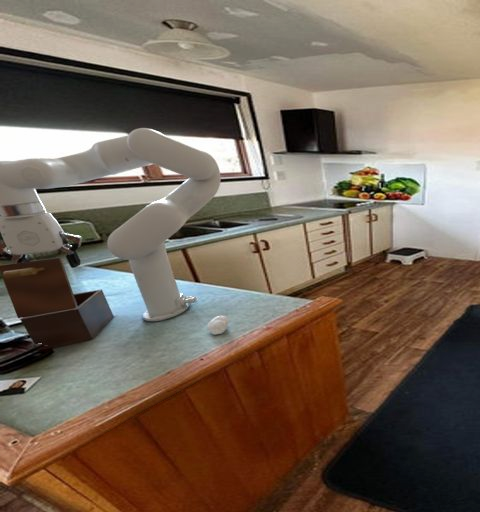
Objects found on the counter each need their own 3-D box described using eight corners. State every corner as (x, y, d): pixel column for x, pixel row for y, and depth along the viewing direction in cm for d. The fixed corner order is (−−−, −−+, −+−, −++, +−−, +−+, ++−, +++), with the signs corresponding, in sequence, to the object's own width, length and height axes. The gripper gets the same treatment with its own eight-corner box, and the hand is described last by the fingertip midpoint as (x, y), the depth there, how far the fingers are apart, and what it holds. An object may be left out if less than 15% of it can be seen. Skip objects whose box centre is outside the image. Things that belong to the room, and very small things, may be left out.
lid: (0, 265, 70) (-21, 268, 65) (61, 257, 74) (46, 260, 69) (20, 317, 72) (2, 324, 67) (77, 307, 76) (64, 313, 72)
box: (68, 325, 87) (53, 297, 84) (114, 316, 92) (102, 289, 88) (38, 350, 76) (19, 319, 72) (92, 339, 80) (77, 308, 76)
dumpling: (235, 327, 83) (232, 318, 81) (221, 339, 79) (217, 330, 77) (217, 320, 85) (214, 311, 83) (203, 332, 81) (199, 322, 79)
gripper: (-39, 217, 65) (0, 281, 71) (57, 208, 71) (86, 267, 77) (-12, 212, 72) (22, 271, 78) (74, 204, 78) (99, 259, 84)
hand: (54, 269), depth 78 cm, fingers open, 9 cm apart
